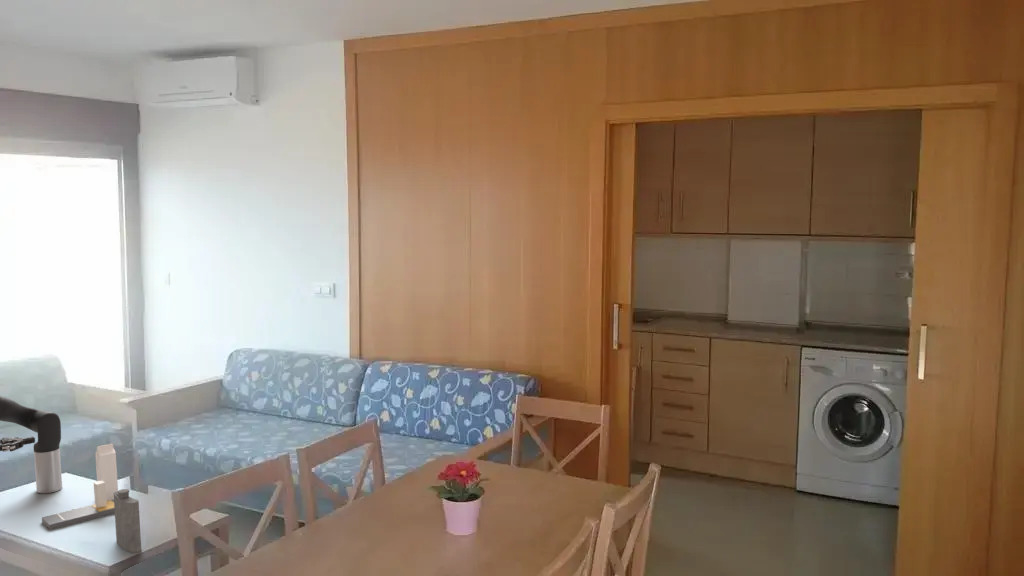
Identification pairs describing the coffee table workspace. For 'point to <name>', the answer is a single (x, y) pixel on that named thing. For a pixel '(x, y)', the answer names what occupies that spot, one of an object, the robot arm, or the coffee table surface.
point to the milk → (107, 469)
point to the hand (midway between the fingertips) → (34, 439)
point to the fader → (100, 494)
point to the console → (77, 515)
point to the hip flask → (127, 521)
